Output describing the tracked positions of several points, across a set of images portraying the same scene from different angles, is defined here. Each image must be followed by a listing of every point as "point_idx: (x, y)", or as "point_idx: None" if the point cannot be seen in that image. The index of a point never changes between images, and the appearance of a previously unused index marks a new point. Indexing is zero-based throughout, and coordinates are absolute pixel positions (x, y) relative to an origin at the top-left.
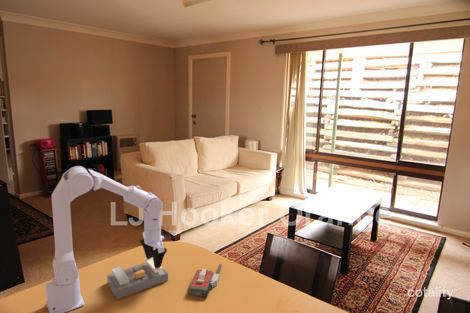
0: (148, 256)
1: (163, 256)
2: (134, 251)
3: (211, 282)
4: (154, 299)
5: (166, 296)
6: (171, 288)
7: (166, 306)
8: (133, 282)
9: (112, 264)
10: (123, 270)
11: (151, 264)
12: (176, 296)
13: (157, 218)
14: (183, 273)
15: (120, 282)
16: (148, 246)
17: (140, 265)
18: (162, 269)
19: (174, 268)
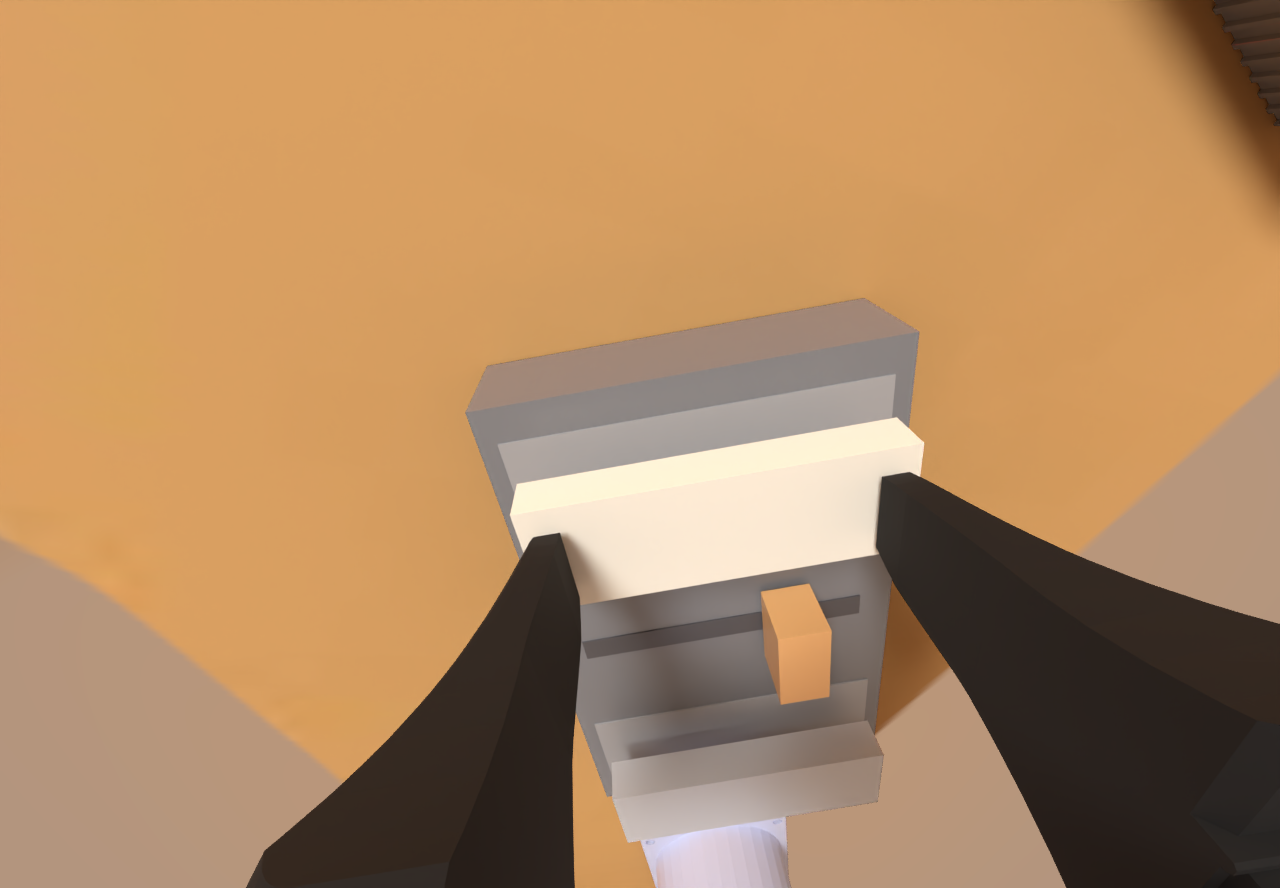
0: (573, 607)
1: (1142, 590)
2: (29, 525)
3: None
4: (1037, 484)
5: (1090, 383)
6: (1021, 300)
7: (1203, 416)
8: (836, 664)
9: (325, 699)
10: (585, 712)
11: (746, 560)
12: (1178, 289)
13: None
14: (843, 5)
15: (875, 793)
16: (551, 800)
17: None
18: (903, 427)
19: (635, 111)
